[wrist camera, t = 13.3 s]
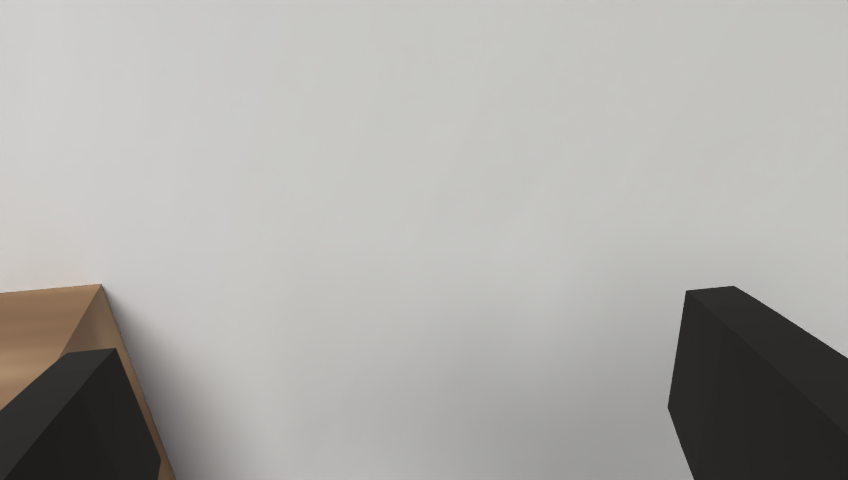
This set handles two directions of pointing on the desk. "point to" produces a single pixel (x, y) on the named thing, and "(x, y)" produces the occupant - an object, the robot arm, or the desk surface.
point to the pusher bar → (61, 341)
